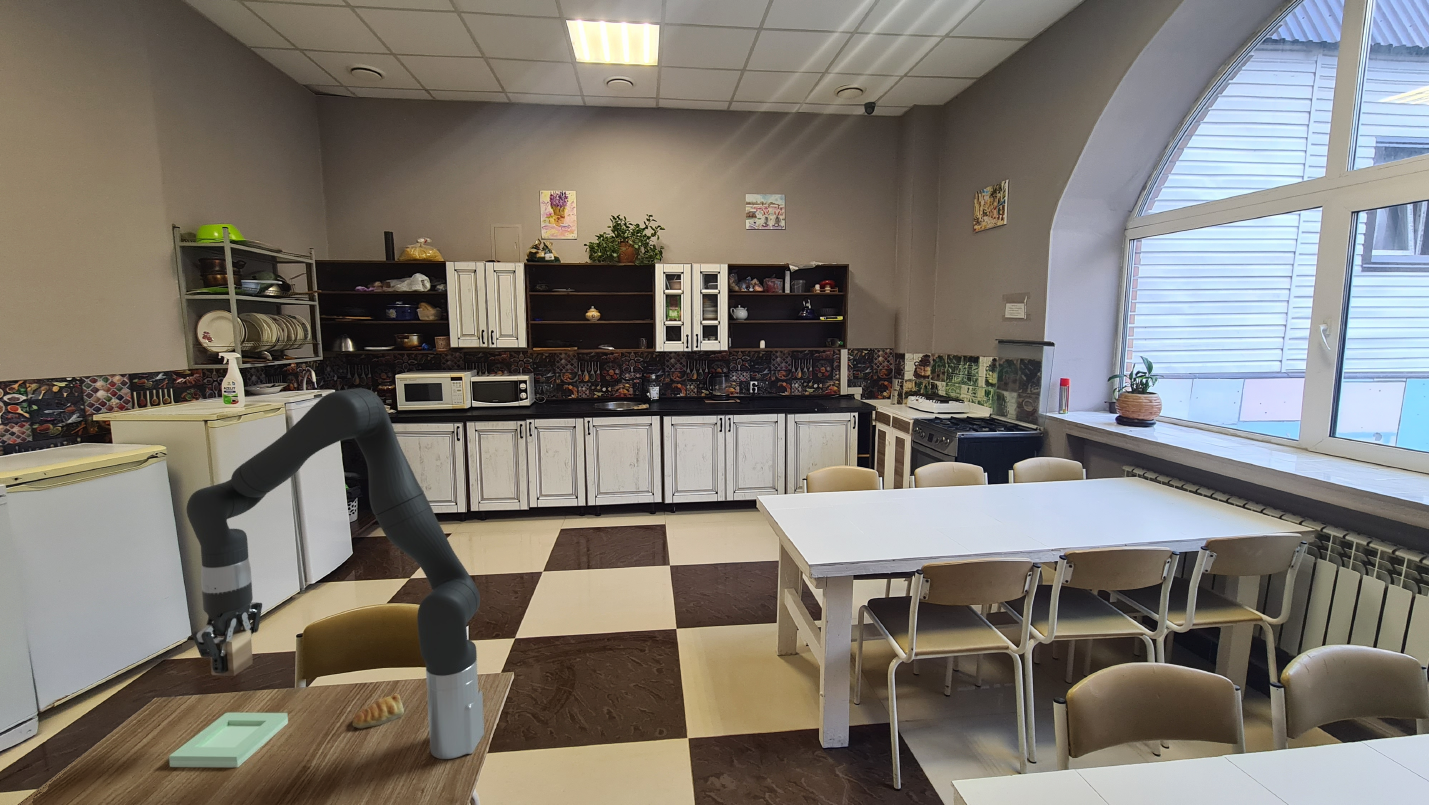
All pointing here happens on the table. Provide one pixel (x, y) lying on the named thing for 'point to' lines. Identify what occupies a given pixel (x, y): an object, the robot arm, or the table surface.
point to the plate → (229, 740)
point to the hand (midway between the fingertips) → (232, 664)
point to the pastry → (379, 712)
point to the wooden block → (237, 653)
